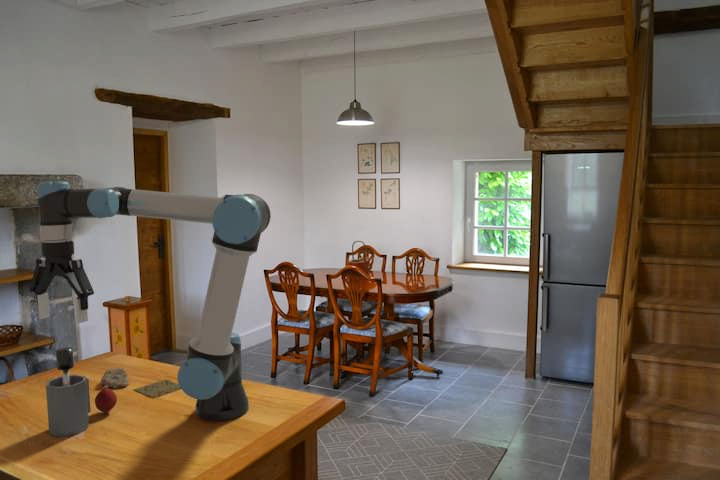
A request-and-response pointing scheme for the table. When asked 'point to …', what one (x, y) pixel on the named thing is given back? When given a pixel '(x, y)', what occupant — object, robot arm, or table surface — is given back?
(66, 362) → the plunger
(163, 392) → the grey porous flat square
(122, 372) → the rock
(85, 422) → the press carafe
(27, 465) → the table surface
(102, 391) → the onion
